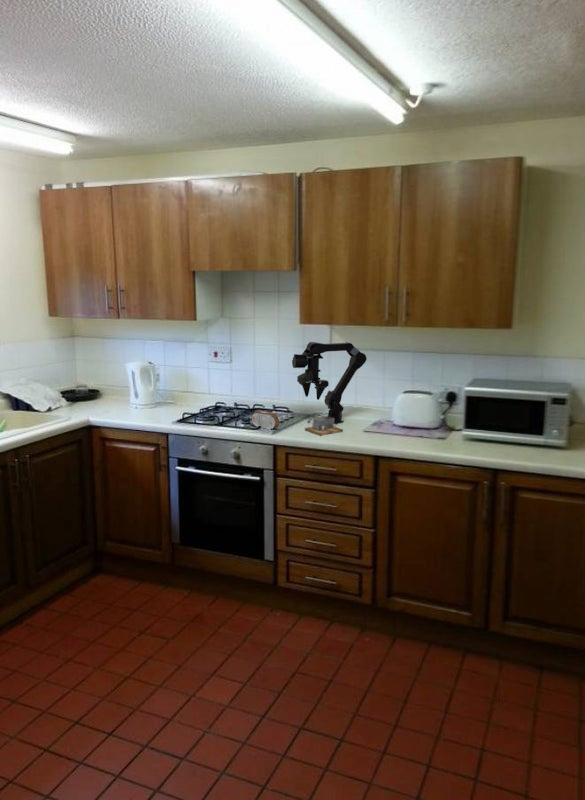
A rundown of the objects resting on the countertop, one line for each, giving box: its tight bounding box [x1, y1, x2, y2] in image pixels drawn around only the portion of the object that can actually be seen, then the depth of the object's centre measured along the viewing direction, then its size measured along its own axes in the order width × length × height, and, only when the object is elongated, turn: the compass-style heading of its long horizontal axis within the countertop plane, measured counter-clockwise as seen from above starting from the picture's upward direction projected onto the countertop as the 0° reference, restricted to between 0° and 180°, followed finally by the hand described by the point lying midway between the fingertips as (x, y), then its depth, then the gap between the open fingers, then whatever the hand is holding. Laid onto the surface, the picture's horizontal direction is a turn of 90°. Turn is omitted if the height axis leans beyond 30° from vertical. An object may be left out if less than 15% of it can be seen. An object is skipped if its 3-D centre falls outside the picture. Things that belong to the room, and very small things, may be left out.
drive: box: [313, 416, 335, 431], centre depth 309 cm, size 10×4×5 cm, turn 130°
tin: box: [250, 409, 280, 429], centre depth 313 cm, size 15×3×8 cm, turn 59°
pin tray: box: [304, 422, 344, 437], centre depth 310 cm, size 14×12×4 cm
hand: (312, 398), depth 323 cm, fingers open, 9 cm apart
